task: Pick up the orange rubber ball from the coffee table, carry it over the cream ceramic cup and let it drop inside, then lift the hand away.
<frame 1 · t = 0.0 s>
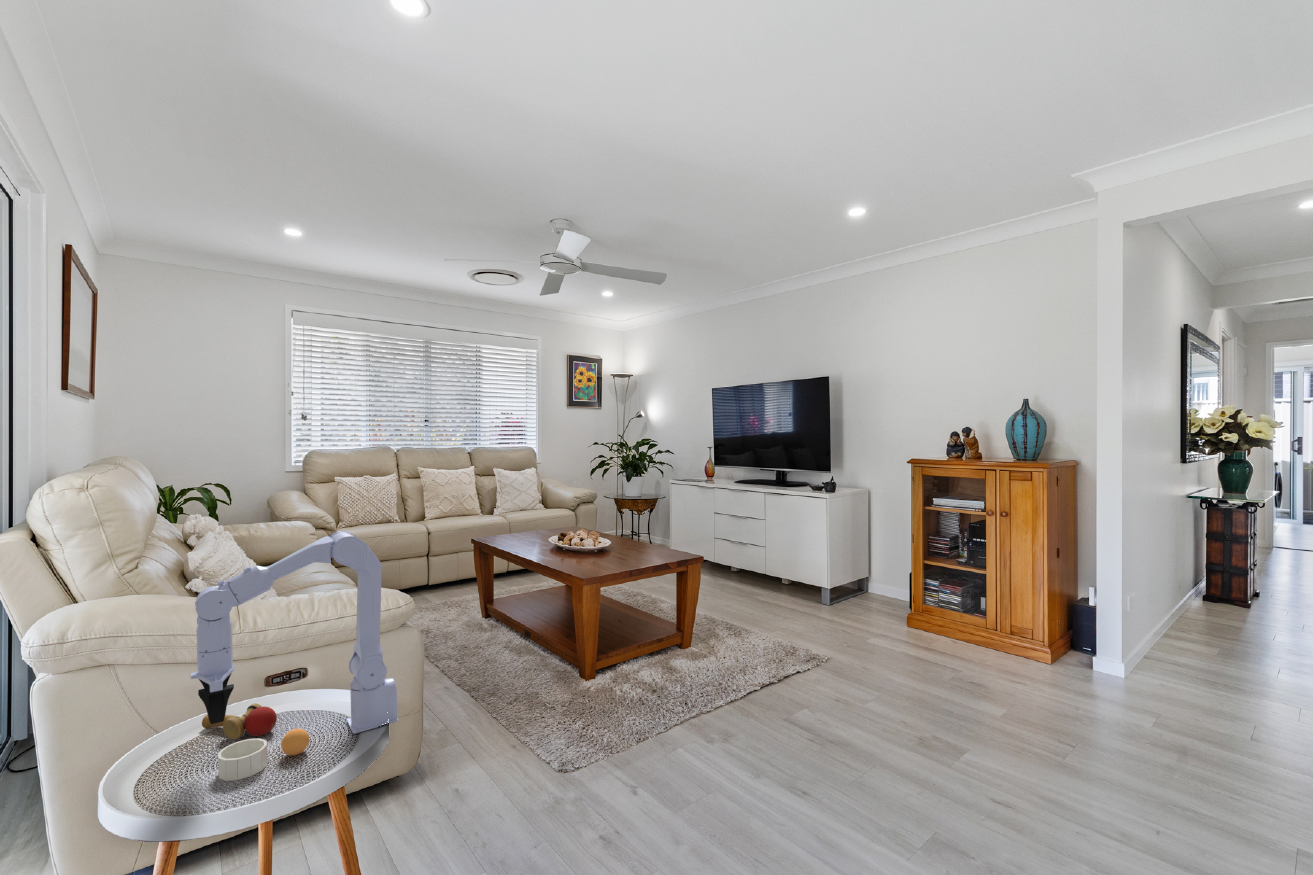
hand: (216, 714, 122), 10 cm above the table, tool pointing down, fingers open, 7 cm apart
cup: (243, 768, 121), on the table
kendama: (238, 732, 136), on the table
ball: (295, 741, 126), point 2 cm above the table
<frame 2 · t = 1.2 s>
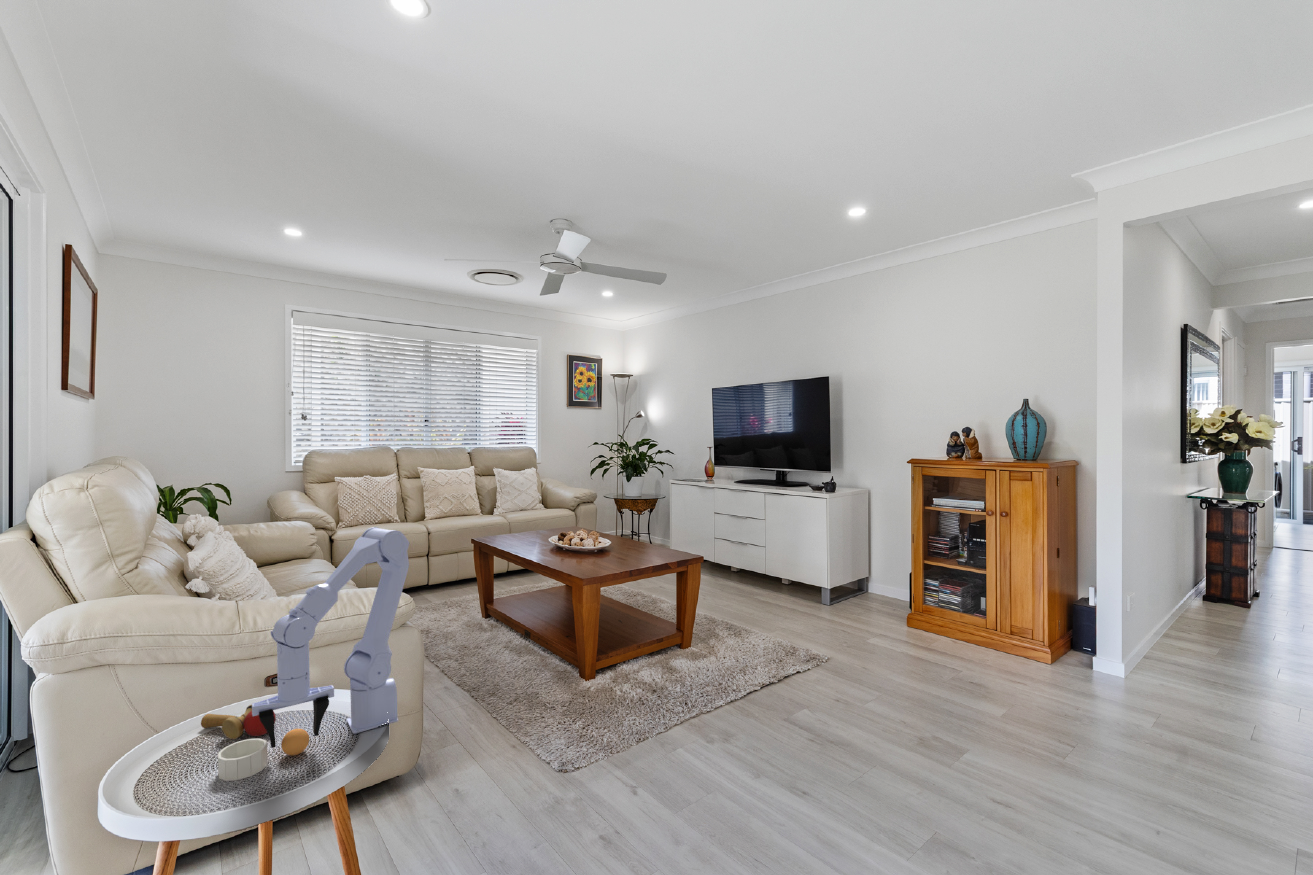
hand: (294, 739, 126), 3 cm above the table, tool pointing down, fingers open, 7 cm apart
nothing on the table moved.
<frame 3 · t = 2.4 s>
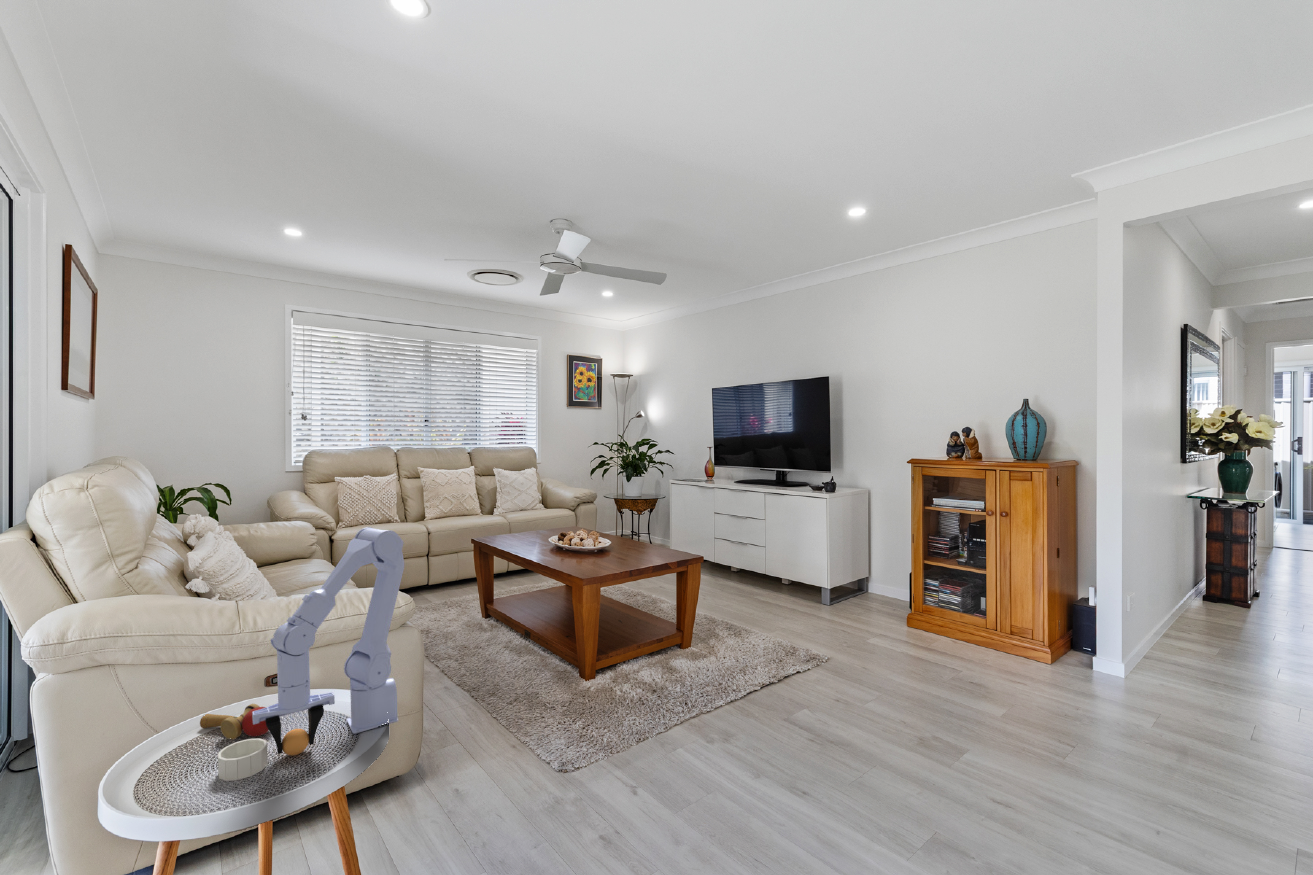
hand: (295, 746, 126), 1 cm above the table, tool pointing down, fingers closed on ball, 5 cm apart
ball: (295, 741, 126), point 2 cm above the table, touching gripper
everything else where it was.
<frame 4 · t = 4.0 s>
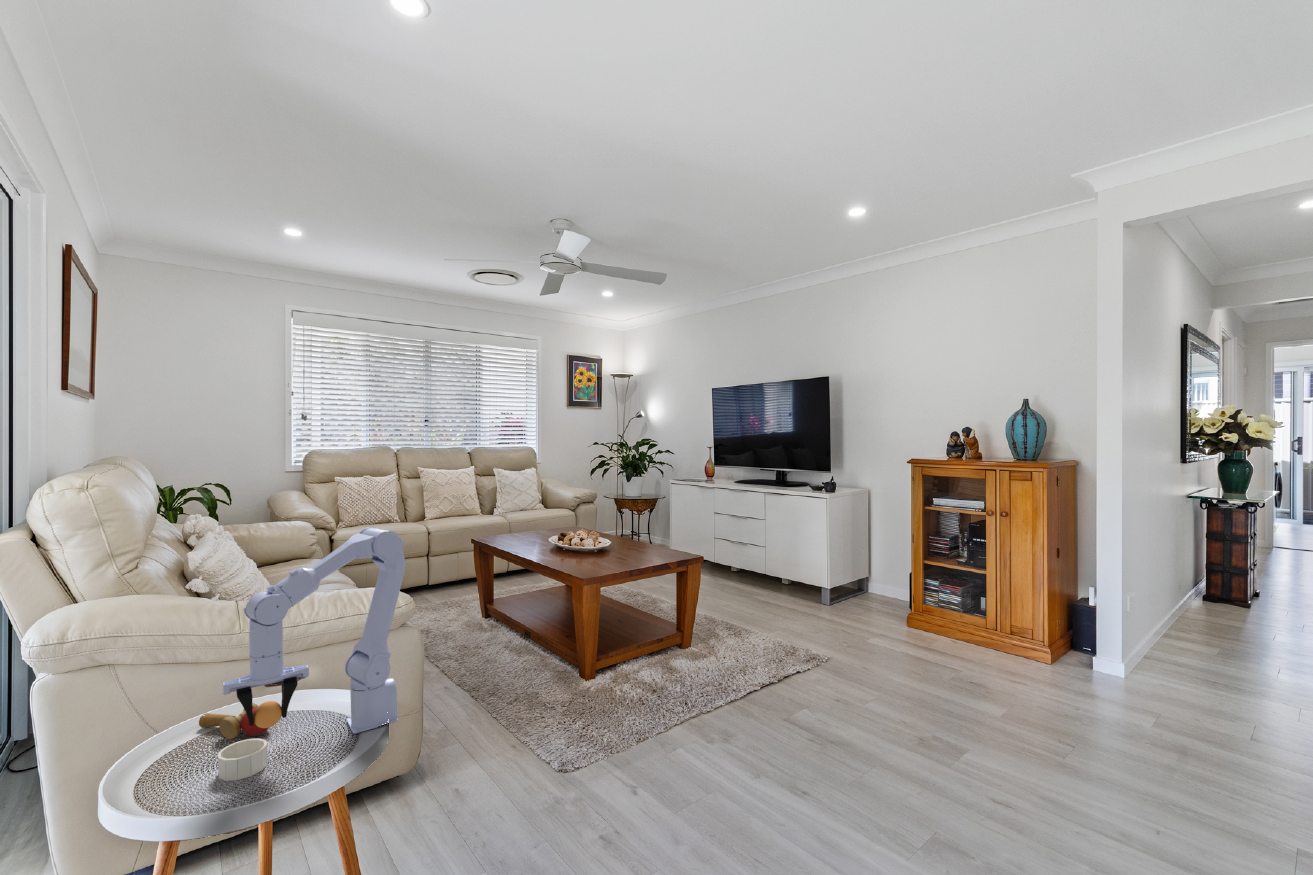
hand: (267, 719, 123), 9 cm above the table, tool pointing down, fingers closed on ball, 5 cm apart
ball: (267, 714, 123), point 10 cm above the table, touching gripper
everything else where it was.
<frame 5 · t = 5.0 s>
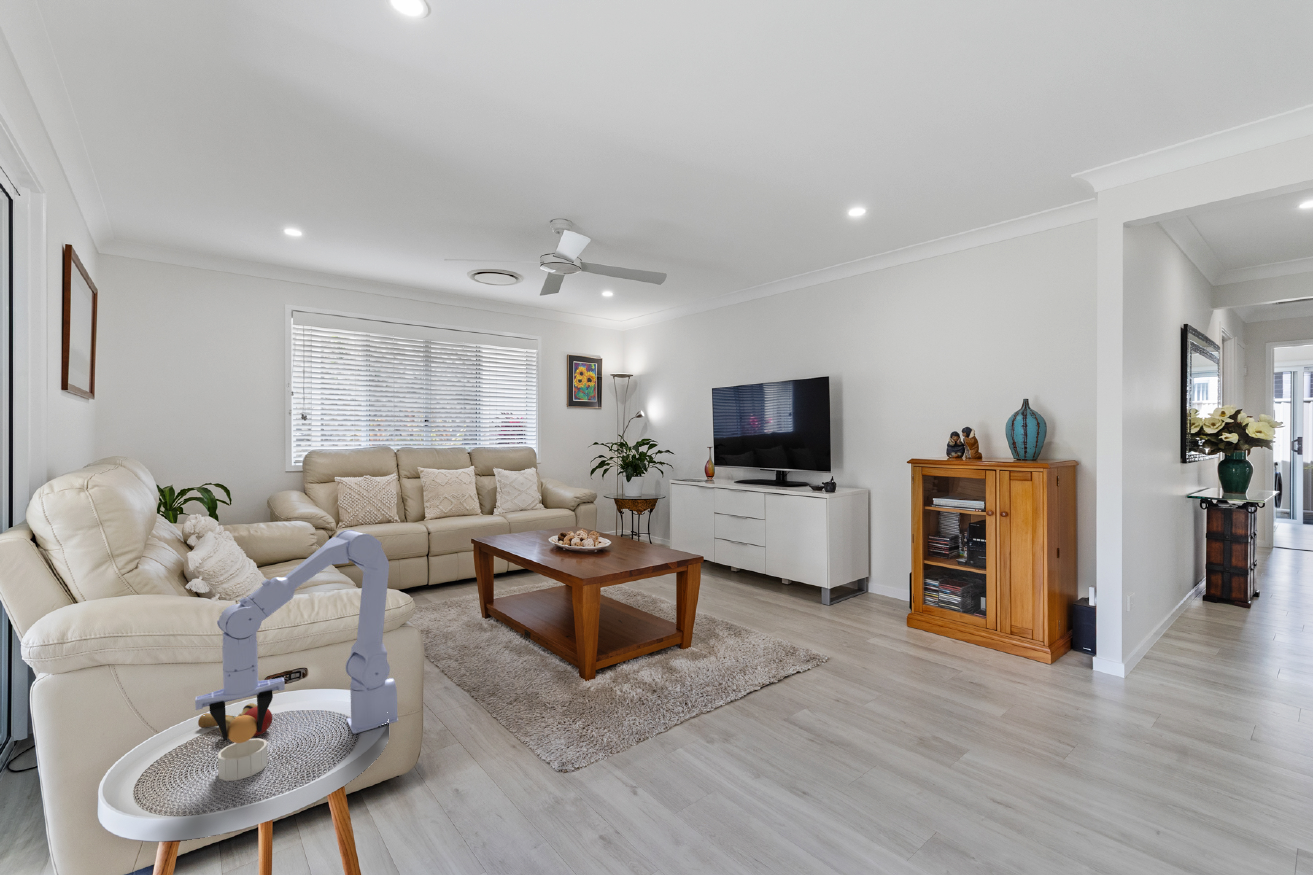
hand: (242, 734, 121), 7 cm above the table, tool pointing down, fingers closed on ball, 5 cm apart
ball: (242, 728, 121), point 8 cm above the table, touching gripper
when the fingers open (7 cm above the table, at t = 5.5 s): ball drops 5 cm, resting on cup.
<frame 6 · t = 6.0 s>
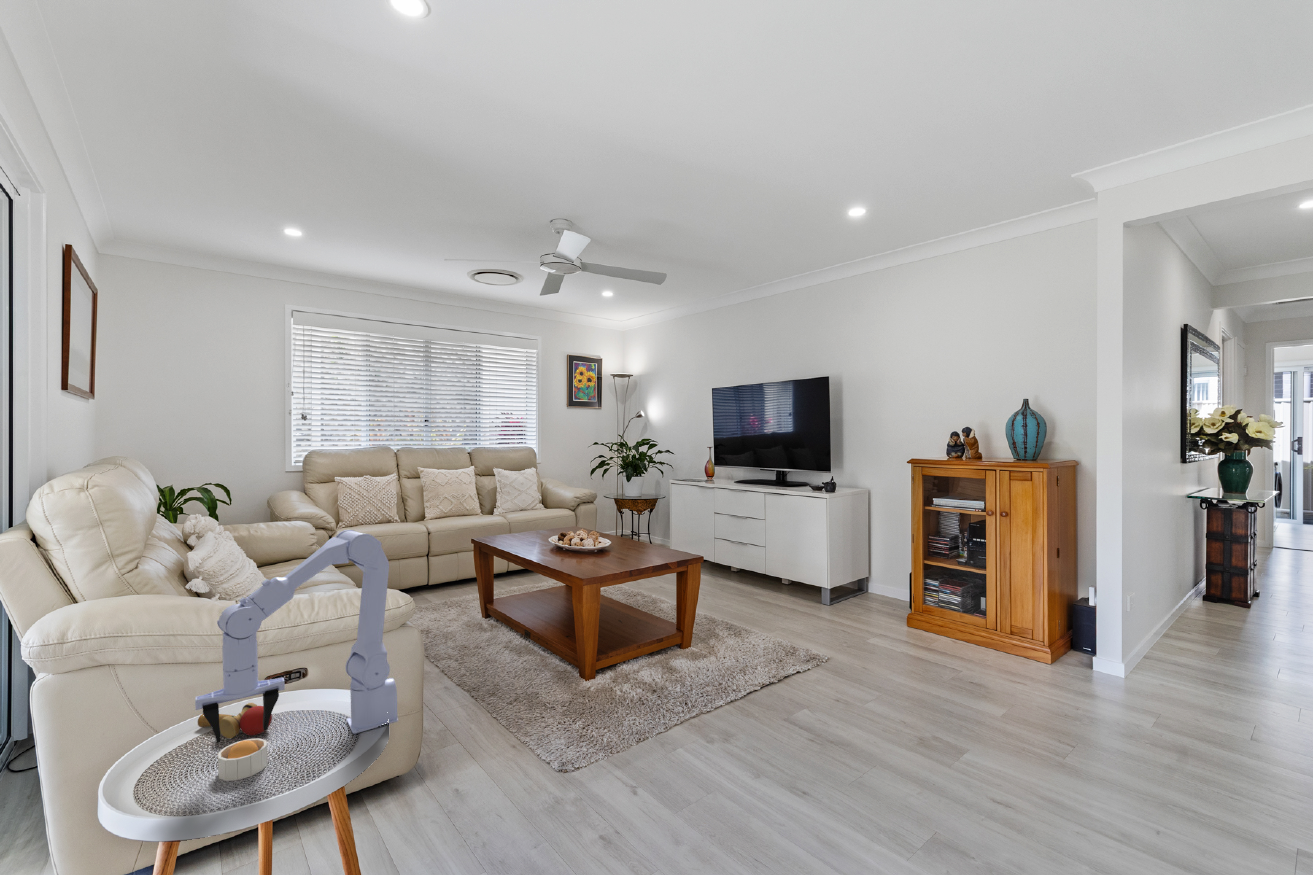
hand: (242, 734, 121), 7 cm above the table, tool pointing down, fingers open, 7 cm apart
ball: (243, 754, 121), point 3 cm above the table, touching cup
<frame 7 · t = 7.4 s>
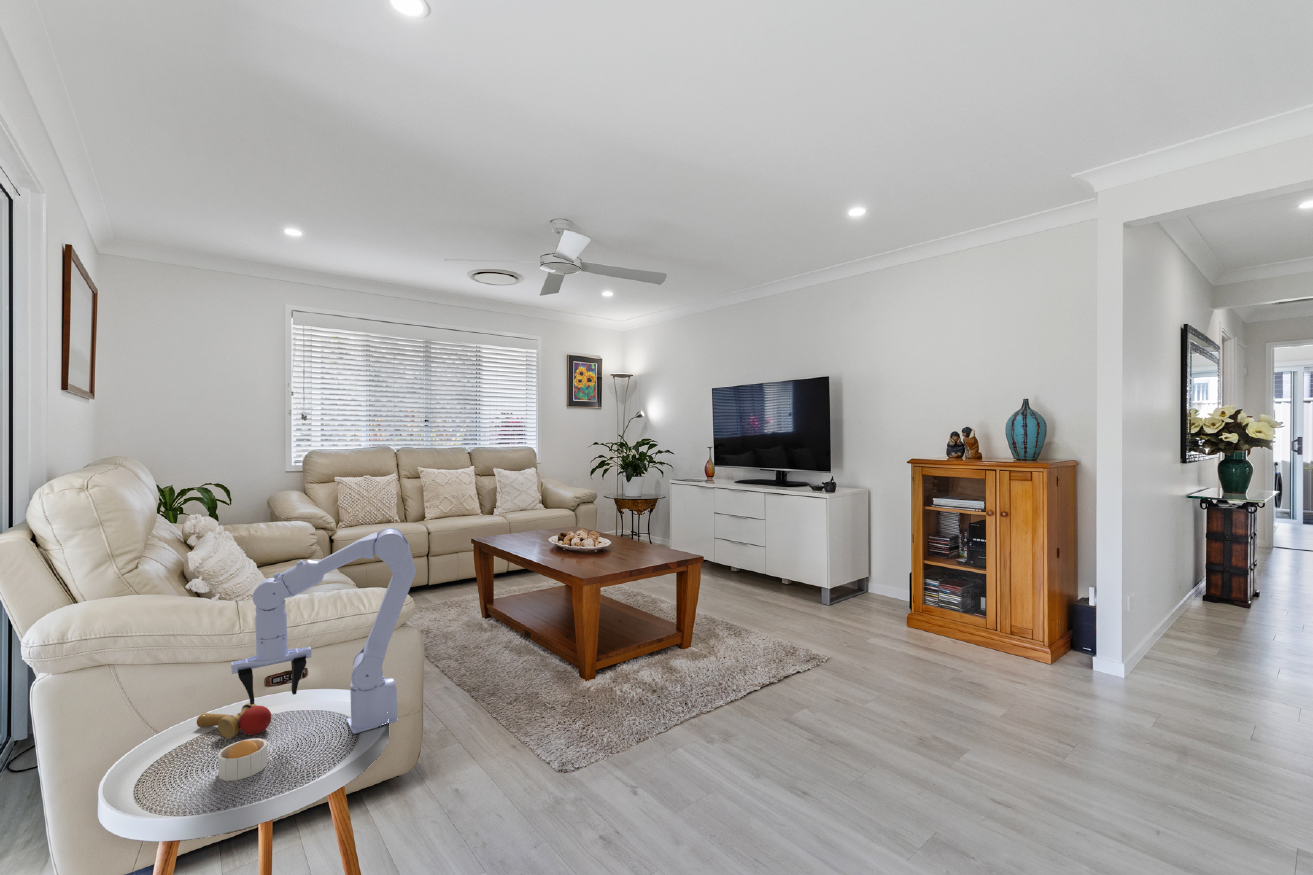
hand: (273, 697, 132), 9 cm above the table, tool pointing down, fingers open, 7 cm apart
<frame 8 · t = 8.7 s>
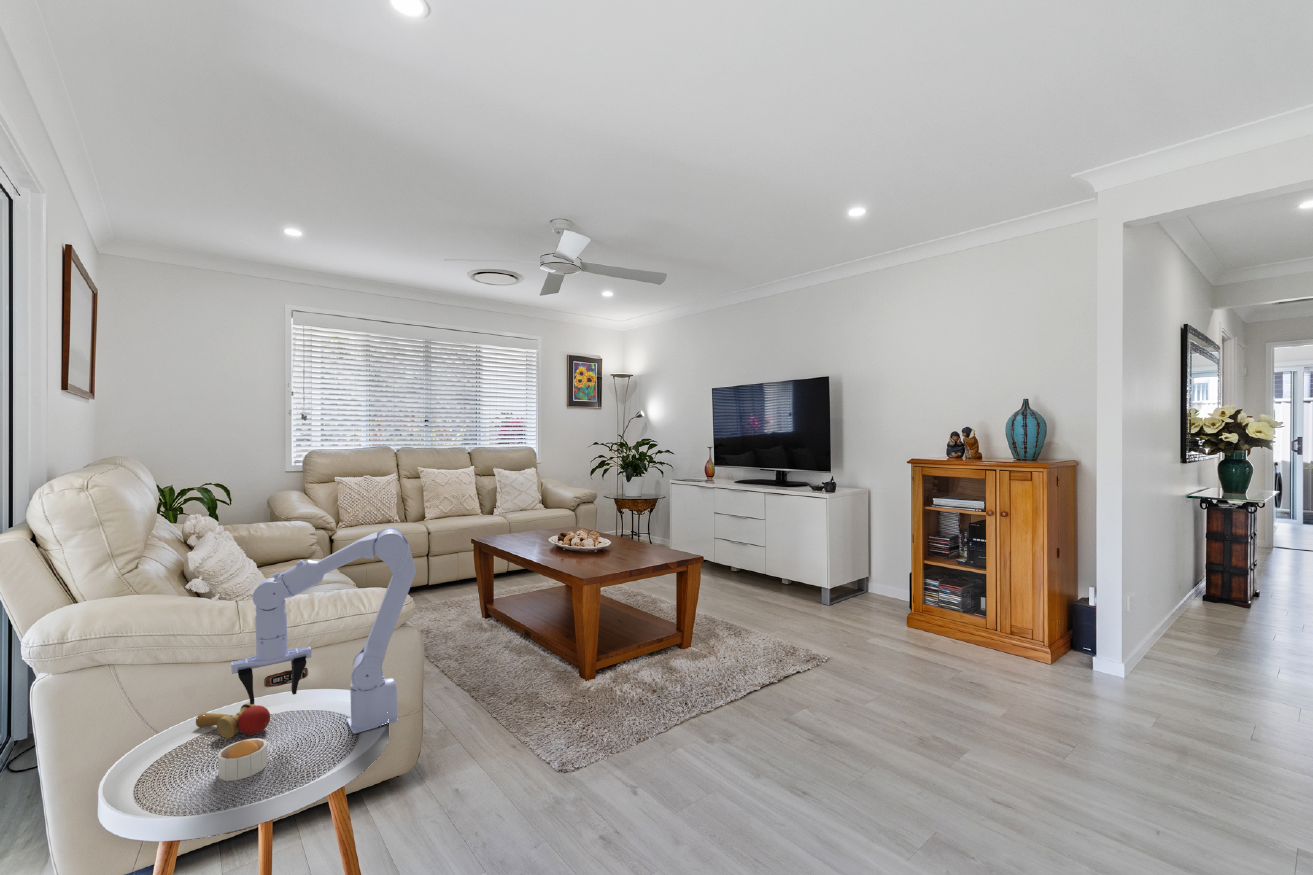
hand: (273, 697, 132), 9 cm above the table, tool pointing down, fingers open, 7 cm apart
at the end: ball 0.1 cm from the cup (horizontally); ball point 2.9 cm above the table; the gripper is holding nothing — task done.
